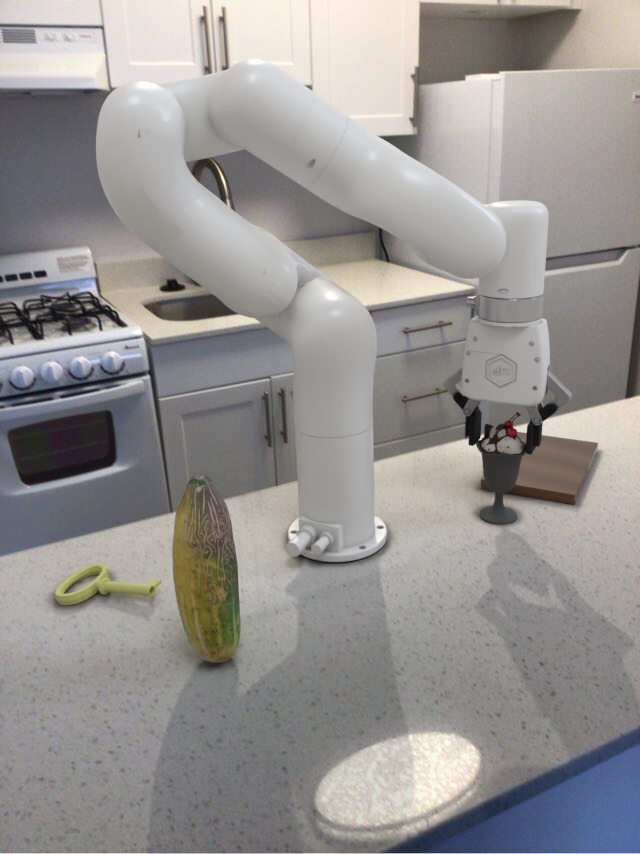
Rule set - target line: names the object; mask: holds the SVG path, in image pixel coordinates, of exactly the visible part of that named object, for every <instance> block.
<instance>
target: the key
mask: <svg viewBox="0 0 640 854" xmlns="http://www.w3.org/2000/svg"><path fill="white" fill-rule="evenodd" d="M95 575H97V576H96V577H95V578H94V579H93V580H92V581H91V582H89V583H88V584H87V585H85V586H84V587H82V588H80V589H78V590H76V591H73V592H70V593H69V592H68V593H66V592H67V591H68V590H69V588H70V587H71V586H73V585H74V584H75V583H77V582H78V581H80V580H83V579H85V578H87V577H91V576H95ZM109 577H110V572H109V570H108V568H107V566H106V565H105V564H103V563H94V564H89V565H87V566H85V567H83V568H81V569H79V570H77V571H75V572H74V573H72V574H71V575H69V576H68V577H67V578H65V579H64V580H62V582H61V583H60V584H59V585H58V586H57V587H56V589H55V590H54V599H55V600H56V602H57V603H58V605H61V606H72V605H76V604H79V603H82V602H84V601H86V600H88V599H89V598H91V597H92V596H94V595H95V594H97V593H98V592H99V593H100V594H101V595H104V596H107V595H108V594H109V593H117V594H125V595H126V594H127V595H135V596H146V597H154V595H155V593H156V589H157V588H158V587H159V586H160V585H161V584H162V579H158V580H157V578H151V580H150V581H148V582H147V584H143V583H132V582H121V581H112V580H111V578H109Z"/></svg>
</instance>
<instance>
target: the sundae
mask: <svg viewBox="0 0 640 854" xmlns="http://www.w3.org/2000/svg"><path fill="white" fill-rule="evenodd" d="M521 416H522V414H521V413H520V412H518V411H516V412H515V414H514V415H512V416H511V418H510V419H508V420H507V419H506V420H505V421H504V422H502V423H499V424H496V425H492V424H489V423H485V424H484V427H483V428H484V429H483V437H481V439H479V440H478V441H477V442H476V444H475V445H476V448H477V450H478V451H479V453H480V454H481V461H482V472H483V473H482V474H483V476H484V479H485V483H486V485H487V486H488V487H489V488H490V489H491V490H490V491H492V492H493V493H494V500H493V504H492V505H488V506H484V507H482V508H481V509H480V510H479V511H478V516H479V517H480V518H481V519H482V520H484V521H485V522H488V523H490V524H497V525H505V524H510V523H513V522H515V521H516V520H517V518H518V514H517V513H516V511H515V510H514V509H512V508H510V507H507V506H505V505H504V504H505V503H504V495H505V494H506V493H505V492H507V491H509V490H510V489H512V488H513V487H514V486H515V483H516V480H517V477H518V473H519V468H520V464H521V460H522V456H523V455H525V454H526V452H525V451H526V443H525V442H523V441H521V439H520V438H519V436H518V435H517V432H518V430H517V429H516V428H514V422H515V420H516V419H517V418H519V417H521Z"/></svg>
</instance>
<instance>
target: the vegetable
mask: <svg viewBox="0 0 640 854" xmlns="http://www.w3.org/2000/svg"><path fill="white" fill-rule="evenodd" d="M229 511H230V510H229V508H228V506H227V504H226V502H225V499H224V498H223V496H222V495H221V494H220V492H219V491H218V489H217V487H216V485H215V483H214V481H213V480H212V479H211V477H210V476H208V475H206V474H204V473H199V474H195V475H193V476H192V477H190V479H189V480H188V482H187V484H186V487H185V490H184V491H183V494H182V496H180V499H179V500H178V503H177V506H176V511H175V516H174V525H173V538H172V546H171V557H172V578H173V585H174V594H175V598H176V604H177V608H178V612H179V617H180V620H181V624H182V628H183V630H184V634H185V636H186V639H187V641H188V644H189V646H190V647H191V649H192V650H193V652H194V653H195V654H196V655H197V656H198V657H199V658H201V659H202V660H203V661H206V662H208V663H215V664H220V663H224V662H227V661H229V659H231V658H232V657H233V656H234V655H235V653H236V651H237V650H238V649H239V648H238V647H239V644H240V641H241V606H240V605H241V603H240V588H239V586H240V585H239V567H238V557H237V550H236V544H235V539H234V531H233V524H232V519H231V515H230V512H229Z"/></svg>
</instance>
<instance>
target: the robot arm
mask: <svg viewBox="0 0 640 854" xmlns="http://www.w3.org/2000/svg"><path fill="white" fill-rule="evenodd" d="M243 150H245V151H247V152H249V153H250V154H252V155H253V156H255V157H256V158H257V159H259V160H261V161H262V162H264V163H265V164H266V165H268V166H270V167H272V168H273V169H275V170H276V171H278V172H279V173H281V174H282V175H284V176H285V177H287V178H289V179H290V180H291V181H293V182H295V183H296V184H298V185H300V186H301V187H303V188H304V189H306V190H307V191H308V192H310V193H312V194H313V195H314V196H316V197H318V198H319V199H321V200H322V201H324V202H326V203H327V204H329V205H331V206H333V207H334V208H336V209H338V210H339V211H341V212H343V213H345V214H347V215H349V216H352V217H355V218H357V219H359V220H363V221H365V222H367V223H370V224H372V225H374V226H376V227H378V228H380V229H382V230H383V231H385V232H386V233H388V234H391V235H392V236H394V237H395V238H398V239H399V240H401V241H402V242H404V243H405V244H407V245H409V246H410V247H411V248H412V250H413V252H414V254H415V255H416V256H417V257H418V258H419V259H420V260H421V261H423V262H424V263H426V264H427V265H429V266H431V267H433V268H436V269H438V270H440V271H444V272H446V273H448V274H451V275H453V277H454V276H455V277H456V278H460V279H464V280H465V279H467V280H473V279H478V292H477V294H475V295H473V296H469V295H468V296H467V297H466V301H465V302H466V308H472V309H473V310H475V316H474V317H472V318H471V319H470V321H469V324H468V328H467V334H466V338H465V344H464V352H463V360H462V367H460V368H459V369H458V370H457V371H455V372H453V374H451V375H450V376H449V377H447V378H446V379H445V380H444V381H443V382H442V386H443V388H444V389H445V390H446V391H447V392H448V394H449V395H450V396H452V399H453V401H454V402H455V403H456V404H457V406H458V407H459V408H460V409H461V411H462V413H463V415H464V416H465V431H464V432H465V437H468V446H470V447H473V446H475V445H476V442H477V441H479V440H481V438H482V417H483V415H482V414H483V413H482V412H483V411H482V410H481V409H480V407H479V406H480V404H481V402H486V403H487V402H488V403H497V404H504V405H510V406H511V405H512V406H521V407H525V408H526V412H527V413H528V415H529V418H530V419H529V422H528V424H527V426H526V433H527V436H526V451H525V452H526V453H527V454H530V455H531V454H532V453H533V451H534V450H535V448H536V446H537V447H539V446H540V444H541V438H542V435H543V423H544V422H545V421H546V420H547V419H549V418H550V417H551V416H553V415H554V414H555V413H556V412H557V411H559V410H560V409H561V408H562V407H564V406H565V405H566V404H567V403H568V402H570V400H571V399H572V396H573V393H572V392H571V390H569V389H568V388H567V387H566V386H565V385H564V384H563V383H562V381H560V380H559V378H557V376H555V375H554V373H552V372H551V348H550V345H551V344H550V333H549V326H548V321H547V319H546V318H543V305H544V291H545V278H546V264H547V249H548V248H547V247H548V235H549V220H550V219H549V217H550V216H549V210H548V208H547V206H546V205H545V204H544V203H542V202H540V201H535V200H525V199H520V200H519V199H517V200H500V201H495V202H491V203H482V202H480V201H479V200H478V199H476V198H475V197H474V196H472V195H471V194H469V193H468V192H467V191H465V190H464V189H462V188H461V187H459V186H458V185H456V184H455V183H453V182H452V181H450V180H449V179H447V178H446V177H445V176H443V175H441V174H440V173H438V172H437V171H435V170H433V169H432V168H430V167H428V166H426V165H425V164H423V163H421V162H420V161H418V160H417V159H415V158H414V157H412V156H410V155H408V154H406V153H405V152H403V151H402V150H400V149H399V148H398V147H396V146H395V145H394V144H391V142H389V141H387V140H385V139H384V138H382V137H380V136H378V135H377V134H375V133H373V132H372V131H371V130H370V129H368V128H366V127H365V126H364V125H362V124H360V123H359V122H358V121H356V120H354V119H353V118H352V117H351V116H349V115H347V114H345V113H344V112H343V111H341V110H340V109H338V108H337V107H335V106H334V105H333V104H332V103H330V102H328V101H327V100H326V99H324V98H323V97H322V96H320V95H319V94H317V93H316V92H314V91H313V90H312V89H310V88H309V87H307V85H305V84H304V83H302V82H300V81H299V80H298V79H296V78H295V77H293V76H292V75H291V74H289V73H288V72H286V71H285V70H283V69H281V68H280V67H278V66H276V65H275V64H273V63H272V62H269V61H266V60H263V59H259V58H249V59H248V58H247V59H244V60H242V61H238V62H236V63H234V64H233V65H231V66H230V67H229V68H227V69H225V70H221V71H217V72H213V73H208V74H205V75H201V76H200V75H199V76H196V77H191V78H185V79H179V80H173V81H169V82H163V83H158V84H156V83H153V82H150V81H146V80H134V81H128V82H126V83H123V84H121V85H119V86H118V87H116V88H115V89H113V90H112V91H111V92H110V93H109V94H108V96H106V99H105V100H104V102H103V104H102V106H101V108H100V111H99V114H98V118H97V124H96V134H95V158H96V167H97V173H98V177H99V181H100V184H101V187H102V190H103V192H104V195H105V197H106V199H107V202H108V203H109V205H110V207H111V208H112V210H113V211H114V213H115V215H116V216H117V217H118V219H119V220H120V221H121V223H123V225H125V227H126V228H127V229H128V230H129V231H130V232H131V233H132V234H133V235H134V236H136V238H138V239H139V240H140V241H141V242H142V243H144V244H146V246H148V247H149V248H151V249H152V250H153V251H154V252H156V253H157V254H158V255H159V256H161V257H162V258H164V259H165V260H167V262H169V263H170V264H172V265H173V266H174V267H175V268H177V269H178V270H179V271H180V272H181V273H182V274H184V275H185V276H187V277H188V278H189V279H191V280H193V281H194V282H195V283H197V284H198V285H199V286H201V287H202V288H204V289H205V290H206V291H208V292H209V293H210V294H212V295H213V296H214V297H216V299H218V300H219V301H220V302H222V304H223V305H224V306H225V307H227V308H228V309H229V310H231V311H232V312H234V313H236V314H238V315H240V316H243V317H246V318H250V319H254V320H256V321H257V322H259V323H260V324H262V325H263V326H264V327H266V328H267V329H269V330H270V331H271V332H273V333H274V334H276V335H277V336H278V337H280V338H281V339H282V340H284V341H285V342H287V344H288V345H289V347H290V349H291V350H292V352H291V353H292V362H293V374H292V375H293V377H292V378H293V380H292V407H293V408H292V411H293V413H292V414H293V428H294V443H295V444H294V445H295V460H296V461H295V463H296V479H297V480H296V481H297V499H298V500H297V501H298V502H297V503H298V517H297V518H296V519H295V520H294V521H293V522H291V524H290V525H289V527H288V530H287V541H288V542H287V543H286V545H285V552H286V553H287V555H288V556H290V557H292V558H297V557H299V556H300V555H301V556H303V557H305V558H308V559H310V560H314V561H319V562H327V563H346V562H352V561H353V562H354V561H357V560H361V559H364V558H367V557H370V556H371V555H373V554H375V553H377V552H378V551H380V550H381V549H382V548H383V547H384V545H385V544H386V542H387V539H388V529H387V526H386V523H385V522H384V520H382V519H381V518H380V517H379V516H377V515H376V513H375V457H374V456H375V447H374V445H375V442H374V441H375V440H374V439H375V438H374V435H375V434H374V433H375V432H374V430H375V429H374V383H375V374H376V373H375V372H376V365H377V358H378V332H377V328H376V324H375V322H374V319H373V317H372V315H371V313H370V312H369V310H368V309H367V307H366V306H365V305H364V304H363V302H361V300H359V299H358V298H357V297H356V296H354V295H353V294H352V293H350V292H349V291H347V290H346V289H344V288H343V287H342V286H340V285H339V284H338V283H336V282H334V281H333V280H332V279H330V278H329V277H328V276H326V275H325V274H324V273H322V272H321V271H319V270H318V269H317V268H316V267H315V266H313V265H312V264H311V263H309V262H308V261H307V260H305V259H304V258H303V257H302V256H301V255H299V254H298V253H296V252H295V251H294V250H293V249H291V248H290V247H289V246H288V245H286V244H285V243H283V242H282V241H281V240H280V239H279V238H278V237H277V236H275V235H274V234H272V233H271V232H270V231H268V230H267V229H265V228H263V227H261V226H258V225H254V224H252V223H251V222H249V220H247V219H246V218H244V217H243V216H242V215H240V214H239V213H237V212H236V211H235V210H233V209H232V208H231V207H230V206H228V205H227V203H225V202H224V201H222V199H220V197H218V196H217V195H216V194H214V193H213V192H212V191H210V189H208V188H206V186H204V185H203V184H202V183H200V182H199V181H198V180H197V178H195V176H194V175H193V173H192V172H191V171H190V169H189V167H188V165H187V163H189V162H190V163H191V162H195V161H199V160H205V159H209V158H214V157H219V156H222V155H227V154H230V153H235V152H239V151H243ZM460 382H461V383H460ZM549 391H550V392H551V393H552V394H553V395H554V396H555V397H554V398H553V399H552V400H550V401H549V402H548V403H546V404H545V405H544V403H543V400H544V398H545V396H546V395H547V394H548V392H549Z"/></svg>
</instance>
